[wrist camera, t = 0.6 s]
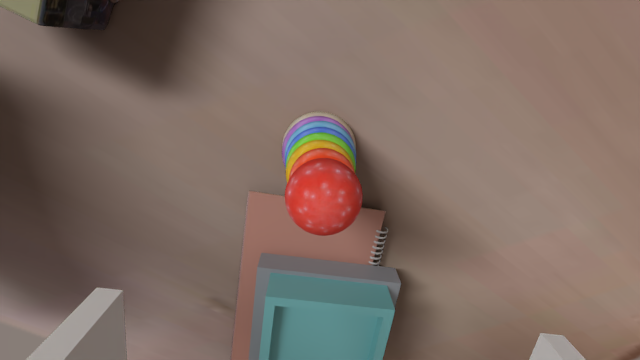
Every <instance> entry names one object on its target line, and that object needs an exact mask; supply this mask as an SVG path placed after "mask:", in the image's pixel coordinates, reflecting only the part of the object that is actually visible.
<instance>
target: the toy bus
mask: <svg viewBox="0 0 640 360" xmlns="http://www.w3.org/2000/svg"><path fill="white" fill-rule="evenodd" d="M118 1H119V0H0V7H2V8H5V9H7V10H9V11H11V12H13V13H15V14H17V15H19V16H21V17H23V18H25V19H27V20H29V21H31V22H34V23H36V24H38V25H41V26H52V27H65V28H77V29H97V30H104V29H105V27H106V26H107V24H108V21H109V18H110V14H111V11H112V8H113V4H114V3H116V2H118Z"/></svg>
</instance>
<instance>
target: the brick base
mask: <svg viewBox="0 0 640 360" xmlns="http://www.w3.org/2000/svg"><path fill="white" fill-rule="evenodd" d="M400 286H401V282H400V279H399V276H398V274H397V271H396V269H395V268H390V267H382V266H373V265H364V264H356V263H347V262H338V261H329V260H321V259H312V258H303V257H295V256H286V255H277V254H268V253H261V256H260V259H259V263H258V266H257V275H256V286H255V296H254V307H253V317H252V328H251V339H250V349H249V360H383V356H384V352H385V348H386V344H387V340H388V336H389V332H390V329H391V325H392V321H393V317H394V313H395V306H396V302H397V298H398V294H399V290H400Z"/></svg>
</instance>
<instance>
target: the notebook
mask: <svg viewBox="0 0 640 360" xmlns="http://www.w3.org/2000/svg"><path fill="white" fill-rule="evenodd" d="M384 216H385V211H382V210H376V209H369V208H362V207H361V209H360V212H359V214H358V216H357V218H356V219H355V221H354V222H353V223H352V224H351V225H350V226H349V227H348V228H346V229H345V230H343V231H341V232H339V233H337V234H334V235H327V236H319V235H314V234H311V233H308V232H306V231H304V230H303V229H301V228H300V227H299V226H298V225H296V224H295V223H294V221H293V220H292V219H291V217H290V215H289V213H288V211H287V208H286V204H285V196H282V195H276V194H269V193H262V192H255V191H248V201H247V210H246V219H245V229H244V238H243V247H242V257H241V266H240V275H239V285H238V294H237V303H236V313H235V322H234V331H233V341H232V350H231V359H230V360H249V349H250V339H251V328H252V317H253V307H254V296H255V286H256V275H257V266H258V263H259V259H260V256H261V253H268V254H277V255H286V256H295V257H303V258H312V259H321V260H329V261H338V262H347V263H356V264H364V265H372V264H373V265H378V266H379V263H380V259H381V257H382V255H381V254H382V253H383V248H384V243H385V241H386V240H385V238H386V237H387V234H386V233H387V232H388V228H387V227H385V229H386V230H387V231H386V232H382V231H381V228H382V224H383V220H384ZM380 233H382V234H385V235H386V236H385V237H379V236H380ZM379 239H383V240H384V242H378V240H379ZM377 244H382V245H383V247H380V248H379V247H377ZM376 249H380V250H381V251H382V252H378V253H377V252H376ZM375 254H377V255H380V257H377V258H374V256H375ZM374 259H375V260H379V262H378V263H377V262H376V263H373V260H374Z"/></svg>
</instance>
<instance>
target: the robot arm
mask: <svg viewBox="0 0 640 360" xmlns="http://www.w3.org/2000/svg"><path fill="white" fill-rule="evenodd" d="M26 360H127V351H126V333H125V316H124V299H123V290H117V289H107V288H96V289H95V290H94V291H93V292H92V293H91V294H90V295H89V296H88V297H87V298H86V299H85V300H84V301H83V302H82V303H81V304H80V305H79V306H78V307H77V308H76V309H75V310H74V311H73V312H72V313H71V314H70V315H69V316H68V317H67V318H66V319H65V320H64V321H63V322H62V323H61V324H60V325H59V327H58V328H57V329H56V330H55V331H54V332H53V333H52V334H51V335H50V336H49V337H48V338H47V339H46V340H45V341H44V342H43V343H42V344H41V345H40V346H39V347H38V348H37V349H36V350H35V351H34V352H33V353H32V354H31V355H30V356H29V357H28V358H27V359H26ZM529 360H585V358H584V357H583V356H582V355H581V354H580V353H579V352H578V351H577V350H576V349H575V348H574V346H573V345H572V344H571V343H570V342H569V341H568V340H567V339H566V338H565V337H564V336H563V335H555V334H545V333H540V336H539V338H538V340H537V343H536V345H535V347H534V350H533V352H532V354H531V357H530V359H529Z"/></svg>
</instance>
